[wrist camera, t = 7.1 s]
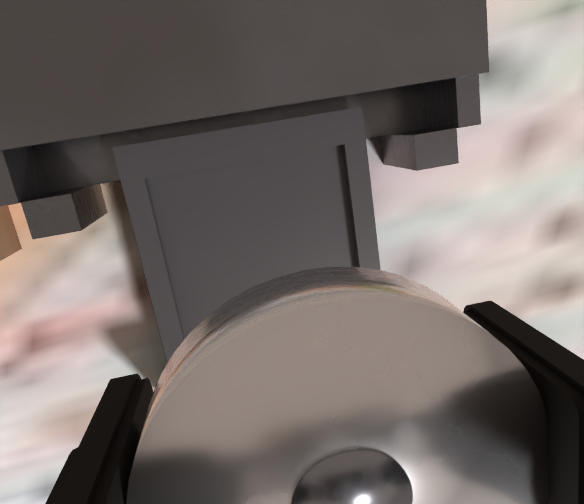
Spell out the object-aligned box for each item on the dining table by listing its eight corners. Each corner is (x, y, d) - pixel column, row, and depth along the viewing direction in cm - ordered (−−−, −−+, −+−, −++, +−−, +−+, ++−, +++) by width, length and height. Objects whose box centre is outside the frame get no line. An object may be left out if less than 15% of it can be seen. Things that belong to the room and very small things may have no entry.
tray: (161, 400, 25) (150, 447, 22) (95, 150, 22) (67, 154, 18) (399, 348, 27) (429, 384, 23) (374, 105, 23) (404, 99, 19)
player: (47, 223, 23) (-6, 249, 17) (-64, -138, 19) (-174, -242, 14) (436, 154, 25) (492, 160, 19) (410, -187, 21) (474, -294, 15)
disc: (99, 310, 8) (65, 356, 6) (492, 232, 8) (554, 257, 7) (189, 617, 10) (183, 714, 8) (505, 536, 10) (556, 611, 9)
